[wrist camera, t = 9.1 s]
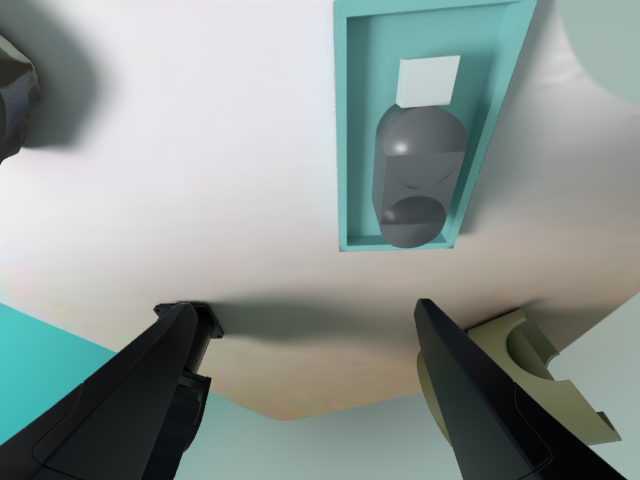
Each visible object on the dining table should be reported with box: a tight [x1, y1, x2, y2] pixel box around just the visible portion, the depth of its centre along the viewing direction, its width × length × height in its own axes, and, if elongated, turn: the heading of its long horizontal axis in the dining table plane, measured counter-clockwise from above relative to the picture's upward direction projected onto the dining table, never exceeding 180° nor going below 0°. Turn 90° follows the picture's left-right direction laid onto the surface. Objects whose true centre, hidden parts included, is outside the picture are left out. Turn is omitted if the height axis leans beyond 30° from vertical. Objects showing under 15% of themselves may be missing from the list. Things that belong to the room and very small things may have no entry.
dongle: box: [372, 55, 467, 249], centre depth 15 cm, size 10×4×4 cm, turn 4°
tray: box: [333, 0, 538, 252], centre depth 16 cm, size 15×9×2 cm, turn 4°
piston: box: [417, 309, 621, 446], centre depth 26 cm, size 11×12×11 cm
